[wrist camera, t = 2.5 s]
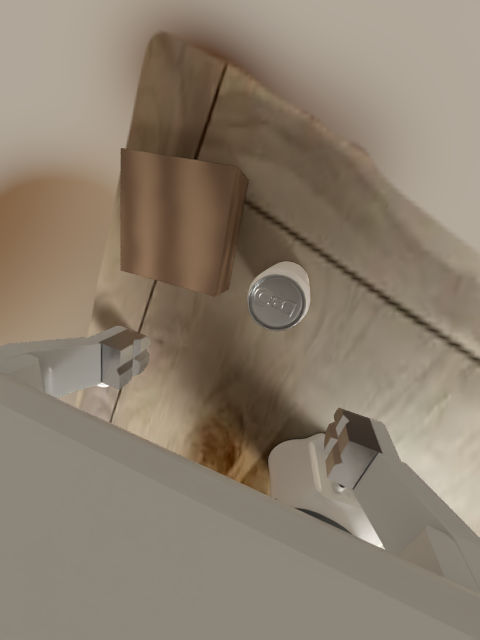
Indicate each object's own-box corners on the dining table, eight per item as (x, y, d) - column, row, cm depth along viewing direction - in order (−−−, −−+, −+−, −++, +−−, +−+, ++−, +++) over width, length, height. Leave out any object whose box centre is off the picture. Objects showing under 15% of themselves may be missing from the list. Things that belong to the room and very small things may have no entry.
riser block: (249, 180, 30) (236, 166, 24) (229, 288, 35) (215, 296, 30) (151, 164, 33) (120, 148, 27) (147, 266, 38) (120, 270, 33)
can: (274, 253, 32) (256, 258, 21) (317, 271, 31) (323, 286, 20) (257, 295, 34) (234, 319, 23) (297, 312, 33) (292, 345, 22)
